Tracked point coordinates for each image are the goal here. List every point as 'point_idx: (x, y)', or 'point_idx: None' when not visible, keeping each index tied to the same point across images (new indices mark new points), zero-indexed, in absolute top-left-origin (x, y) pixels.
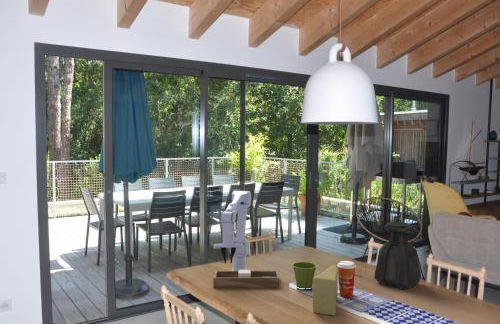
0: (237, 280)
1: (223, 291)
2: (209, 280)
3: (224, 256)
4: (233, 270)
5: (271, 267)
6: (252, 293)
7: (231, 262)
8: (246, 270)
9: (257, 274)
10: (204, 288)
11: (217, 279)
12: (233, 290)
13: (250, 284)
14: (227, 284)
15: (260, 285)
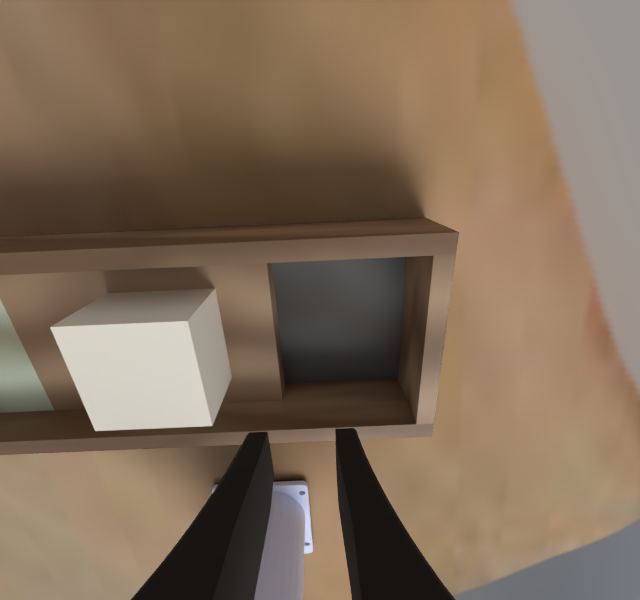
0: (202, 239)
1: (330, 108)
2: (452, 368)
3: (378, 534)
4: (299, 511)
5: (97, 571)
6: (40, 54)
7: (249, 438)
8: (126, 406)
9: (82, 418)
10: (502, 188)
11: (409, 232)
12: (242, 142)
13: (97, 237)
14: (305, 227)
15: (15, 239)
